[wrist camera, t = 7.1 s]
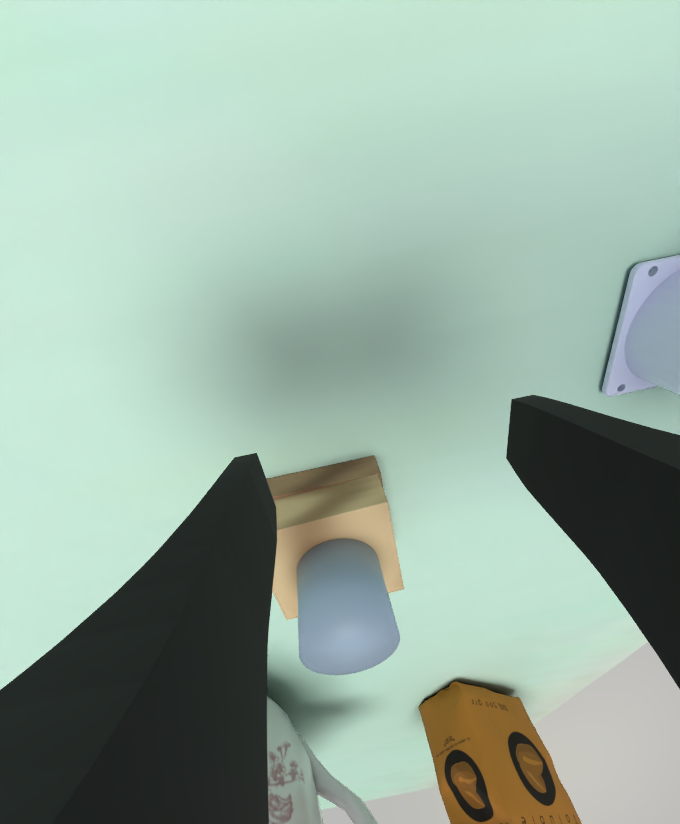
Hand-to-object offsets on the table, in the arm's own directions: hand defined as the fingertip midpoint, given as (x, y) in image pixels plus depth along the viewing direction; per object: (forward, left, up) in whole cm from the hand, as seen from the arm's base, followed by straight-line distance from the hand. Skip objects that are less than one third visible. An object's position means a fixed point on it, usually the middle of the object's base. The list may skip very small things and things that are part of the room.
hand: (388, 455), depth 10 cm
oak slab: (+3, +12, -8) cm, 15 cm away
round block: (+3, +12, -6) cm, 14 cm away
